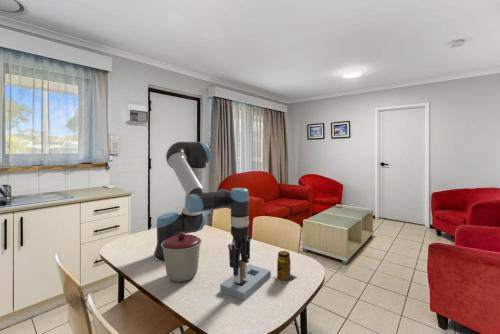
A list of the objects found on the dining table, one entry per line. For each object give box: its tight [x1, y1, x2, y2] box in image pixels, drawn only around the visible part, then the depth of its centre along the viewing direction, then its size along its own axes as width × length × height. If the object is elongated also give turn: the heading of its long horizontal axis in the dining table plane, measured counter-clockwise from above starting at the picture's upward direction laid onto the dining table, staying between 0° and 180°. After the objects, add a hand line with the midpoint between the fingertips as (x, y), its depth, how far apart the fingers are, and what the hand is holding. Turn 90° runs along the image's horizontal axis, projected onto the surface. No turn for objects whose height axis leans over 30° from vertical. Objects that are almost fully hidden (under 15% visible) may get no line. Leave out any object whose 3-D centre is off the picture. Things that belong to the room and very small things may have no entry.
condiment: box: [273, 250, 297, 285], centre depth 113 cm, size 7×8×12 cm
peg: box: [237, 259, 244, 286], centre depth 104 cm, size 3×3×12 cm
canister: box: [161, 232, 202, 283], centre depth 114 cm, size 18×18×21 cm
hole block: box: [219, 264, 272, 302], centre depth 108 cm, size 12×22×3 cm, turn 147°
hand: (240, 279), depth 104 cm, fingers open, 4 cm apart
